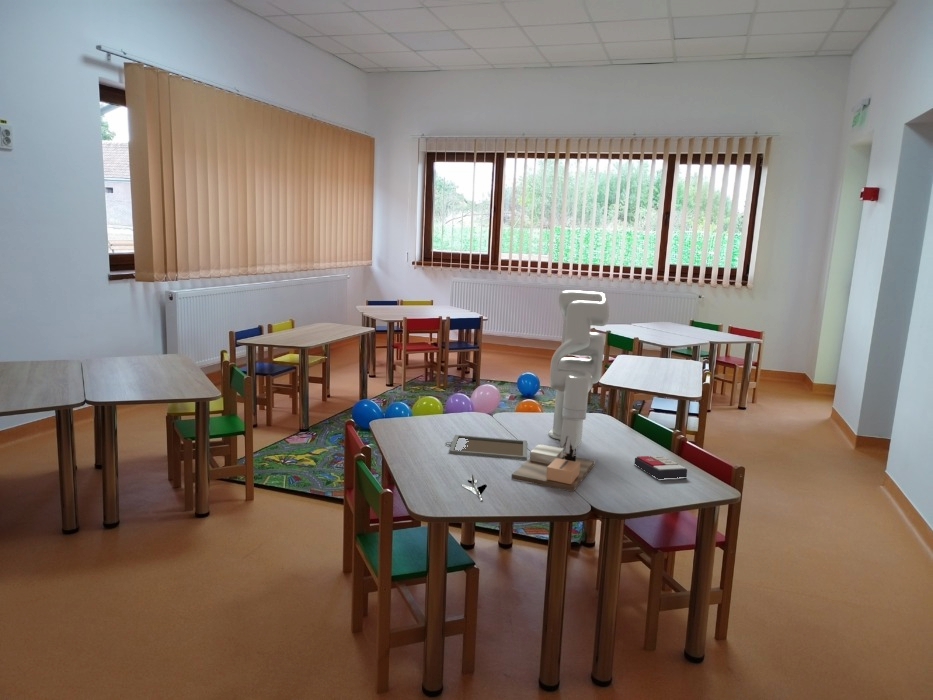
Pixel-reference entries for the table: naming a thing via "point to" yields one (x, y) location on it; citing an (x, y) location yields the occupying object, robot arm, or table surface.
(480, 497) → the toy airplane
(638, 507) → the table surface
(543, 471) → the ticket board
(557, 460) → the tan box with slot
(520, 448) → the framed hanging board
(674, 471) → the red black flat box
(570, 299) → the robot arm
